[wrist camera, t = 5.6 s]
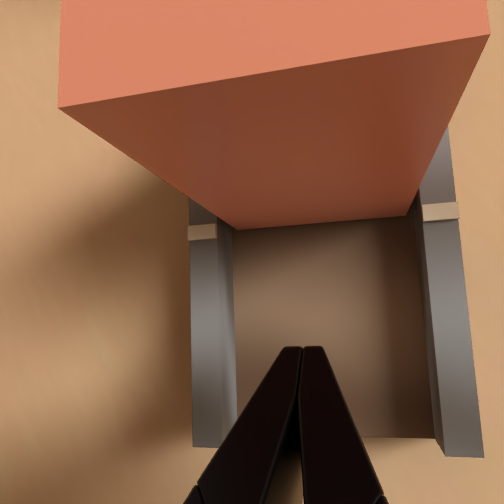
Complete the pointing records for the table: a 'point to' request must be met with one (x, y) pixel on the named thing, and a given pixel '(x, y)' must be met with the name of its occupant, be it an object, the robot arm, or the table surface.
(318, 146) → the pink upright rectangular block
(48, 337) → the table surface
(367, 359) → the rail housing
